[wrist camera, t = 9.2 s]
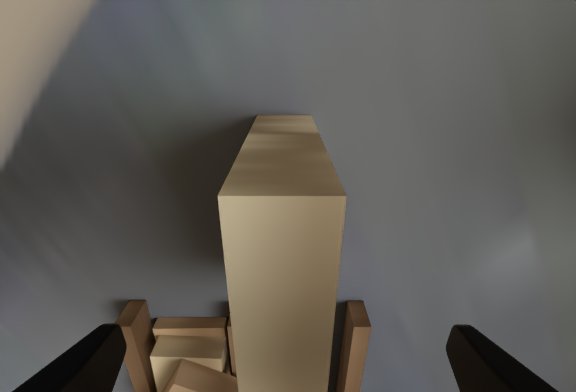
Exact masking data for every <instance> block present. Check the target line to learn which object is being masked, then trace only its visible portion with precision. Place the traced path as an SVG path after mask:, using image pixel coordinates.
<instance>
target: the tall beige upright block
mask: <svg viewBox="0 0 576 392" xmlns="http://www.w3.org/2000/svg"><path fill="white" fill-rule="evenodd" d="M218 205H219V215H220V224H221V233H222V243H223V252H224V261H225V271H226V280H227V289H228V299H229V308H230V317H231V327H232V336H233V345H234V355H235V364H236V373H237V383H238V392H327V391H328V381H329V370H330V360H331V350H332V340H333V329H334V319H335V309H336V299H337V289H338V278H339V268H340V258H341V248H342V237H343V227H344V217H345V207H346V194H345V192H344V189H343V187H342V185H341V182H340V180H339V178H338V176H337V173H336V171H335V169H334V167H333V164H332V162H331V160H330V157H329V155H328V153H327V151H326V148H325V146H324V144H323V142H322V139H321V137H320V135H319V132H318V130H317V128H316V126H315V123H314V121H313V119H312V117H311V115H257V117H256V119H255V121H254V123H253V125H252V127H251V129H250V131H249V133H248V135H247V137H246V139H245V141H244V143H243V145H242V147H241V149H240V151H239V154H238V156H237V158H236V160H235V162H234V164H233V166H232V168H231V170H230V172H229V174H228V176H227V178H226V180H225V182H224V184H223V186H222V188H221V190H220V192H219V194H218Z"/></svg>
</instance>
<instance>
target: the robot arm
mask: <svg viewBox="0 0 576 392" xmlns="http://www.w3.org/2000/svg"><path fill="white" fill-rule="evenodd" d="M126 350H127V344H126V341H125V338H124V334H123V331H122V328H121V326H120V325H119V324H102V325H100V326H99V327H97V328H96V329H95V330H93V331H92V332H91V333H89V334H88V335H87V336H85V337H84V338H83V339H81V340H80V341H79V342H77V343H76V344H75V345H73V346H72V347H71V348H69V349H68V350H67V351H65V352H64V353H63V354H61V355H60V356H59V357H57V358H56V359H55V360H53V361H52V362H51V363H49V364H48V365H47V366H45V367H44V368H43V369H41V370H40V371H39V372H37V373H36V374H35V375H33V376H32V377H31V378H29V379H28V380H27V381H25V382H24V383H23V384H21V385H20V386H19V387H18V388H16V389H15V390H14V391H12V392H112V391H113V388H114V385H115V382H116V379H117V377H118V374H119V371H120V368H121V365H122V363H123V360H124V357H125V354H126ZM446 352H447V356H448V359H449V362H450V364H451V367H452V370H453V373H454V376H455V379H456V382H457V384H458V387H459V390H460V392H558V391H557V390H556V389H554V388H553V387H552V386H550V385H549V384H548V383H546V382H545V381H544V380H543V379H541V378H540V377H539V376H537V375H536V374H535V373H533V372H532V371H531V370H529V369H528V368H527V367H525V366H524V365H523V364H521V363H520V362H519V361H517V360H516V359H515V358H514V357H512V356H511V355H510V354H508V353H507V352H506V351H504V350H503V349H502V348H500V347H499V346H498V345H496V344H495V343H494V342H492V341H491V340H490V339H488V338H487V337H486V336H484V335H483V334H482V333H481V332H479V331H478V330H477V329H475V328H474V327H472V326H471V325H454V326H453V327H452V329H451V332H450V335H449V338H448V341H447V344H446Z"/></svg>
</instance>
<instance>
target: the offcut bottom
mask: <svg viewBox="0 0 576 392" xmlns="http://www.w3.org/2000/svg"><path fill="white" fill-rule="evenodd" d="M227 326H228V324H227V317H184V318H157V320H156V322H155V324H154V327H153V329H152V330H153V333H154V336H155V340H156V342H157V340H158V337H159V335H176V336H205V337H226V348H227V370H228V375H231V376H233V375H232V366H231V356H230V347H229V338H228V329H227Z"/></svg>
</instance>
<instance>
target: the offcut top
mask: <svg viewBox="0 0 576 392" xmlns="http://www.w3.org/2000/svg"><path fill="white" fill-rule="evenodd" d="M162 392H238V383H237V377H234V376H231V375H228V374H225V373H223V372H220V371H217V370H214V369H211V368H208V367H205V366H202V365H200V364H197V363H194V362H191V361H188V360H185V359H182V360H181V362H180V363H179V365H178V366H177V368H176V370H175V371H174V373H173V374H172V376H171V378H170V379H169V381H168V382H167V384H166V386H165V387H164V389H163V390H162Z"/></svg>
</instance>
